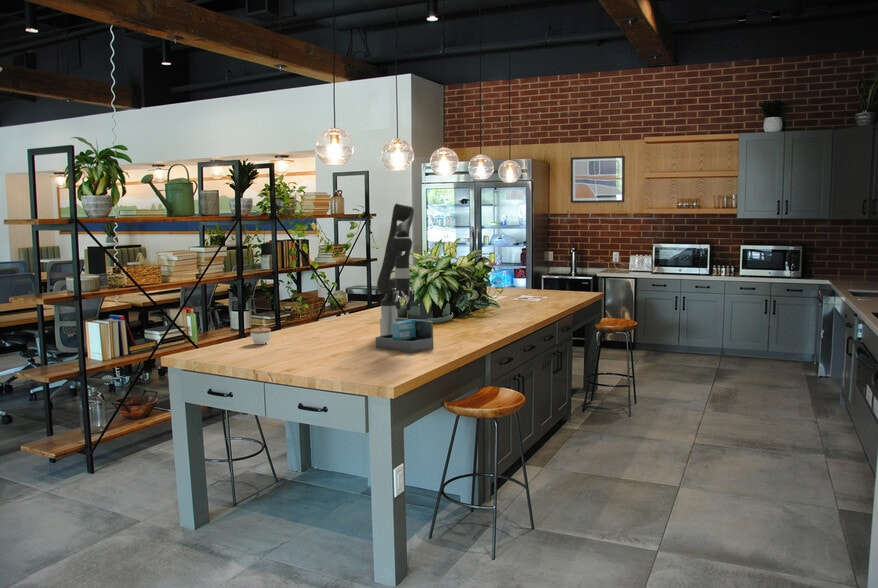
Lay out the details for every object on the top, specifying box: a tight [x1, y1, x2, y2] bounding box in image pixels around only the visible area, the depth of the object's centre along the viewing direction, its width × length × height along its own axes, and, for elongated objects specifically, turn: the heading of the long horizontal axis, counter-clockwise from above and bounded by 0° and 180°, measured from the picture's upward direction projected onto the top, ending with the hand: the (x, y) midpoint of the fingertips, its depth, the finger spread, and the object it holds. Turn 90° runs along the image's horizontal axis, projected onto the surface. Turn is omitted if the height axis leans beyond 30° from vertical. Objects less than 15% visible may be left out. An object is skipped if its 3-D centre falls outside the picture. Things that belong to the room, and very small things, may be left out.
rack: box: [375, 318, 434, 354], centre depth 355 cm, size 25×16×14 cm, turn 50°
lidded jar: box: [249, 326, 272, 345], centre depth 376 cm, size 11×11×9 cm
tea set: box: [397, 303, 454, 324], centre depth 449 cm, size 40×40×16 cm
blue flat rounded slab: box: [392, 320, 416, 340], centre depth 355 cm, size 12×4×12 cm, turn 135°
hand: (403, 309), depth 353 cm, fingers open, 6 cm apart
